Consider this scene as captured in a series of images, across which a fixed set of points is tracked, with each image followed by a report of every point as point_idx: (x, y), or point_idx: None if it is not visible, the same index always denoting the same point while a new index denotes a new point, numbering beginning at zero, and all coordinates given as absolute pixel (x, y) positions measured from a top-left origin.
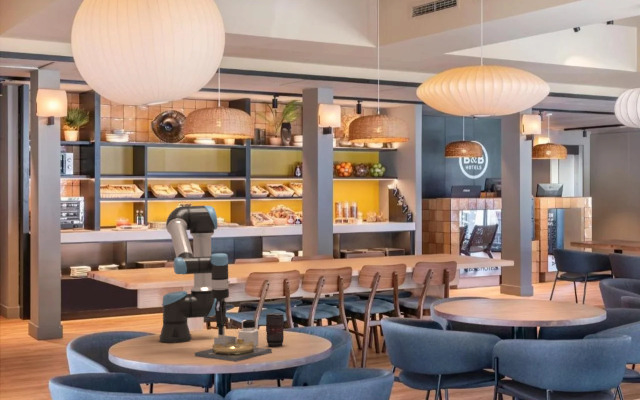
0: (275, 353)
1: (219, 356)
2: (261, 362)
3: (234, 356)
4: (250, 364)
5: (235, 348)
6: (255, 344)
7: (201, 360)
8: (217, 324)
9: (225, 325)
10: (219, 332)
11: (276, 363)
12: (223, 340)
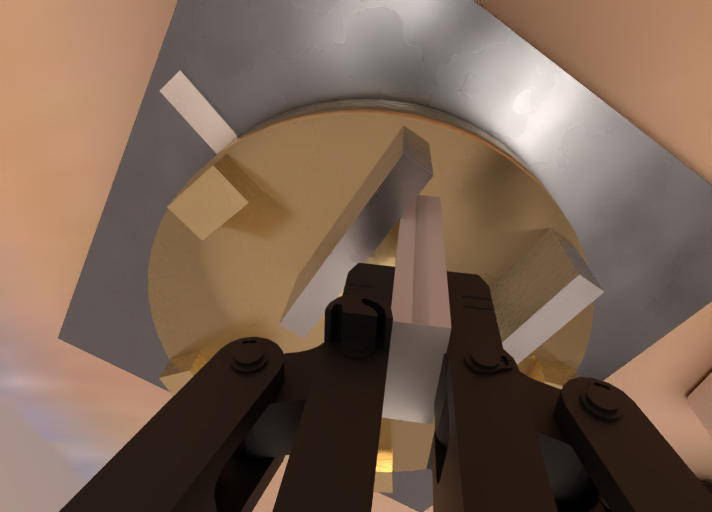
0: (390, 503)
1: (108, 202)
2: (94, 443)
3: (107, 323)
4: (15, 397)
5: (172, 361)
6: None
7: (16, 14)
8: (196, 391)
9: (428, 462)
10: (345, 291)
11: None
12: (305, 282)
